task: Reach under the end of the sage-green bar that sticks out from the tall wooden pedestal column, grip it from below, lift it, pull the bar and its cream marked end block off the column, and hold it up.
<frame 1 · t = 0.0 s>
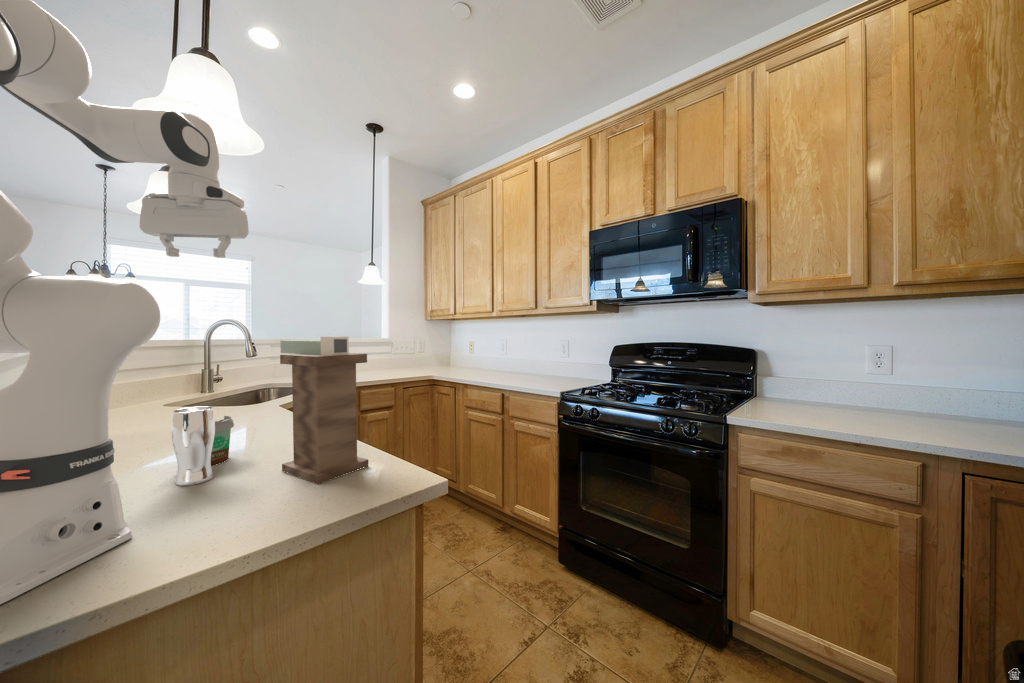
hand: (196, 256, 84), 48 cm above the worktop, tool pointing down, fingers open, 8 cm apart
food container: (213, 464, 89), on the worktop
wooden pedestal column: (326, 468, 85), on the worktop
sage bar: (311, 353, 87), point 26 cm above the worktop, touching wooden pedestal column
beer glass: (194, 481, 79), on the worktop
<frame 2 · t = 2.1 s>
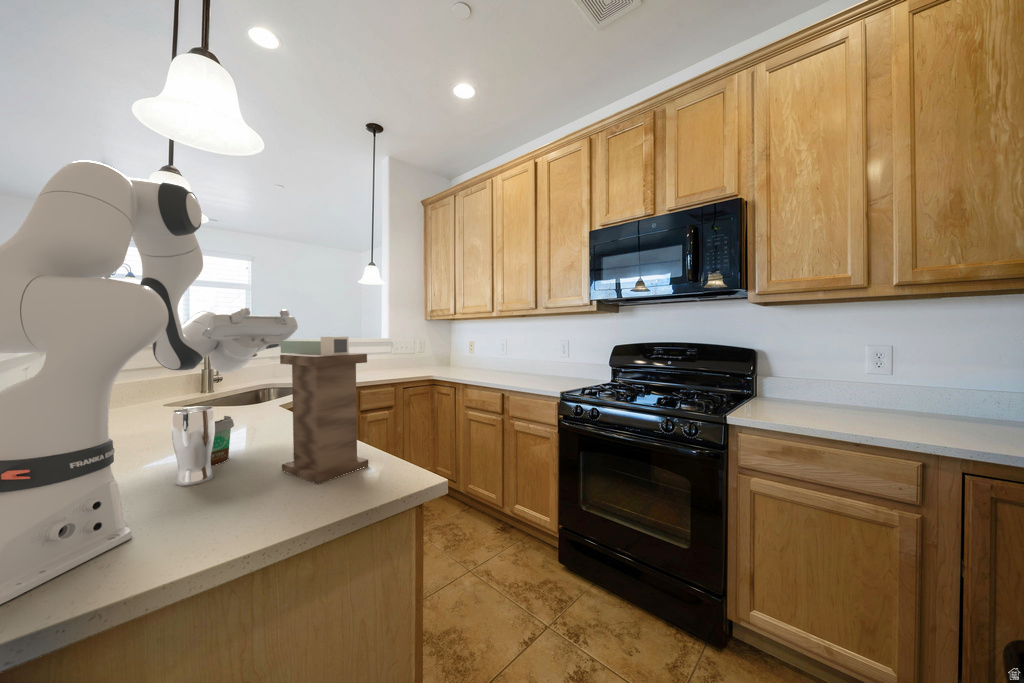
hand: (267, 311, 97), 37 cm above the worktop, tool pointing upward, fingers open, 8 cm apart
nothing on the worktop moved.
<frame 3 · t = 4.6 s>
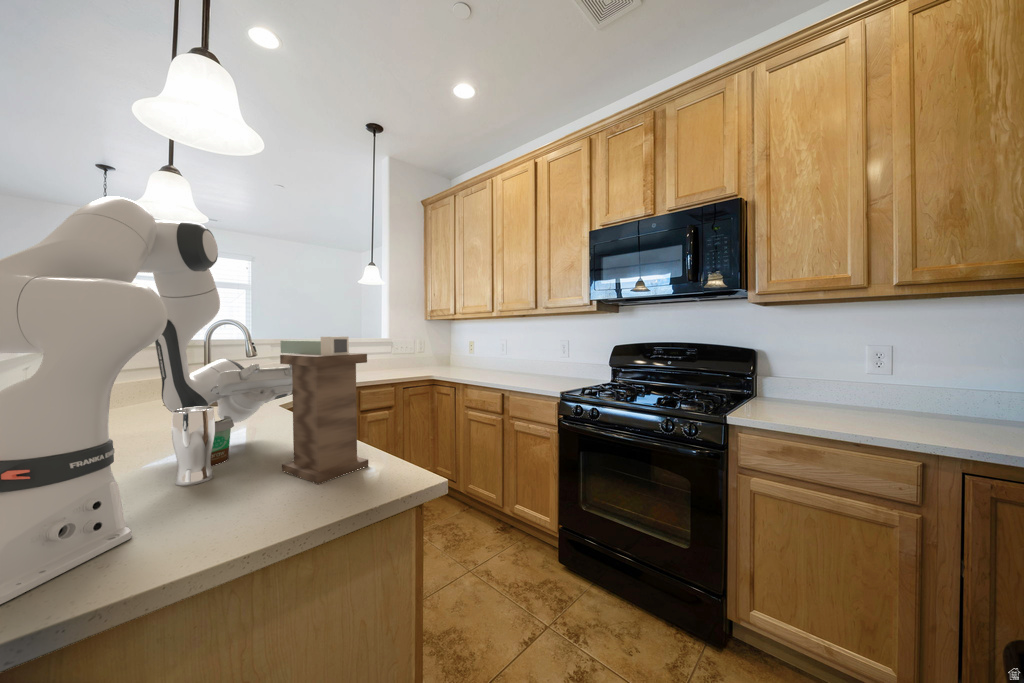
hand: (276, 365, 95), 23 cm above the worktop, tool pointing upward, fingers open, 8 cm apart
nothing on the worktop moved.
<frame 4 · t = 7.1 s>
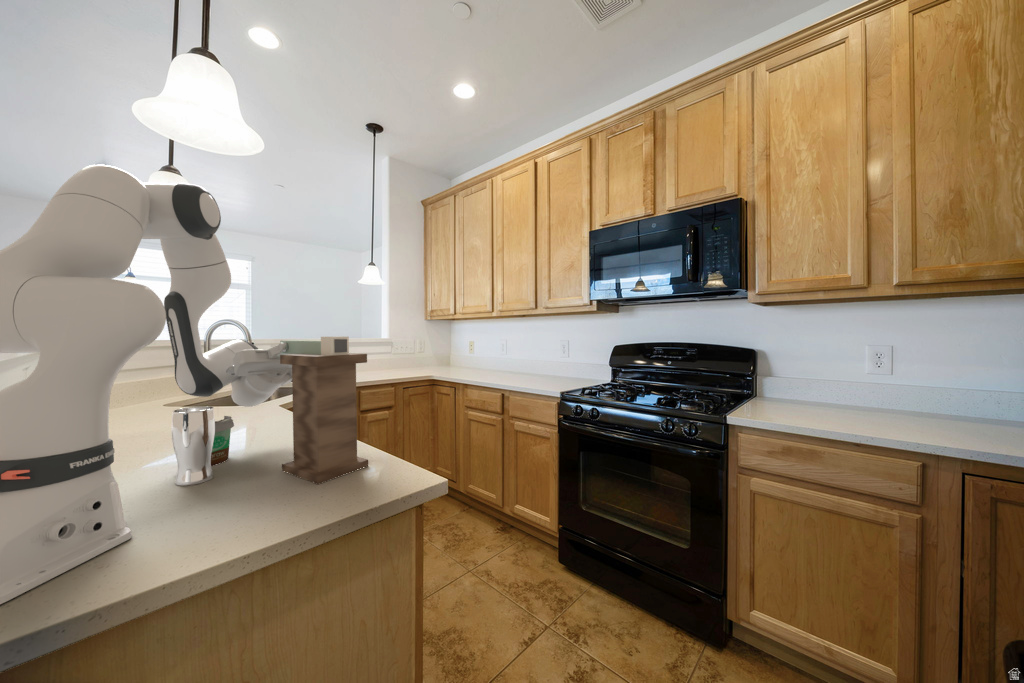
hand: (294, 344, 91), 28 cm above the worktop, tool pointing upward, fingers closed on sage bar, 3 cm apart
sage bar: (311, 353, 87), point 26 cm above the worktop, touching gripper, wooden pedestal column
everything else where it was.
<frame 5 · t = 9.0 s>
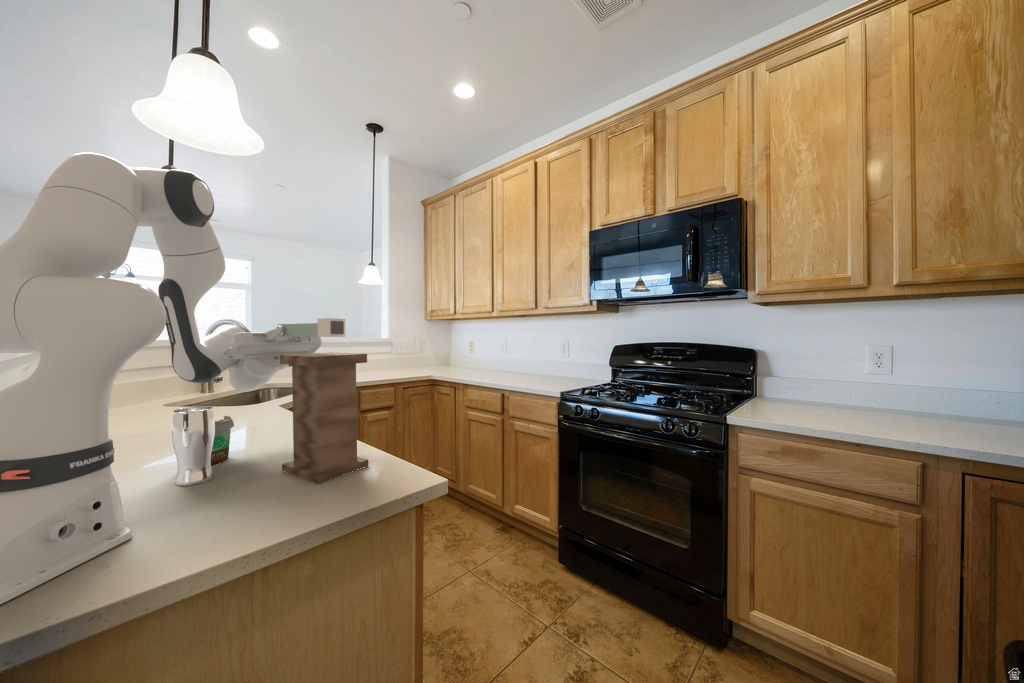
hand: (292, 328, 92), 32 cm above the worktop, tool pointing upward, fingers closed on sage bar, 3 cm apart
sage bar: (308, 336, 88), point 30 cm above the worktop, touching gripper
everything else where it was.
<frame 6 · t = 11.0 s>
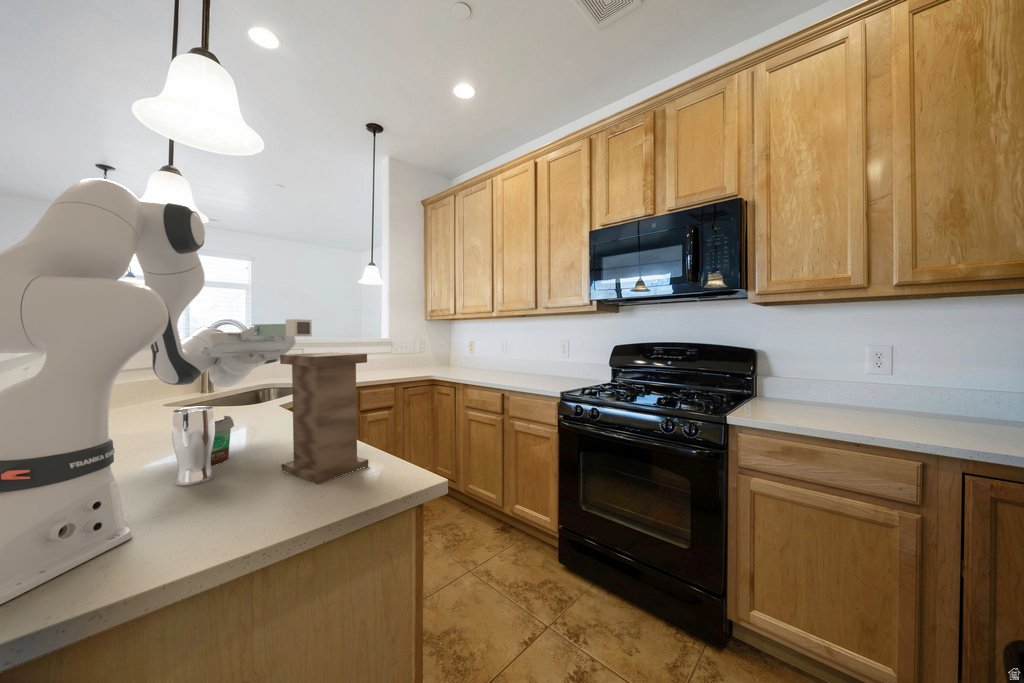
hand: (265, 328, 99), 32 cm above the worktop, tool pointing upward, fingers closed on sage bar, 3 cm apart
sage bar: (279, 336, 95), point 30 cm above the worktop, touching gripper
everything else where it was.
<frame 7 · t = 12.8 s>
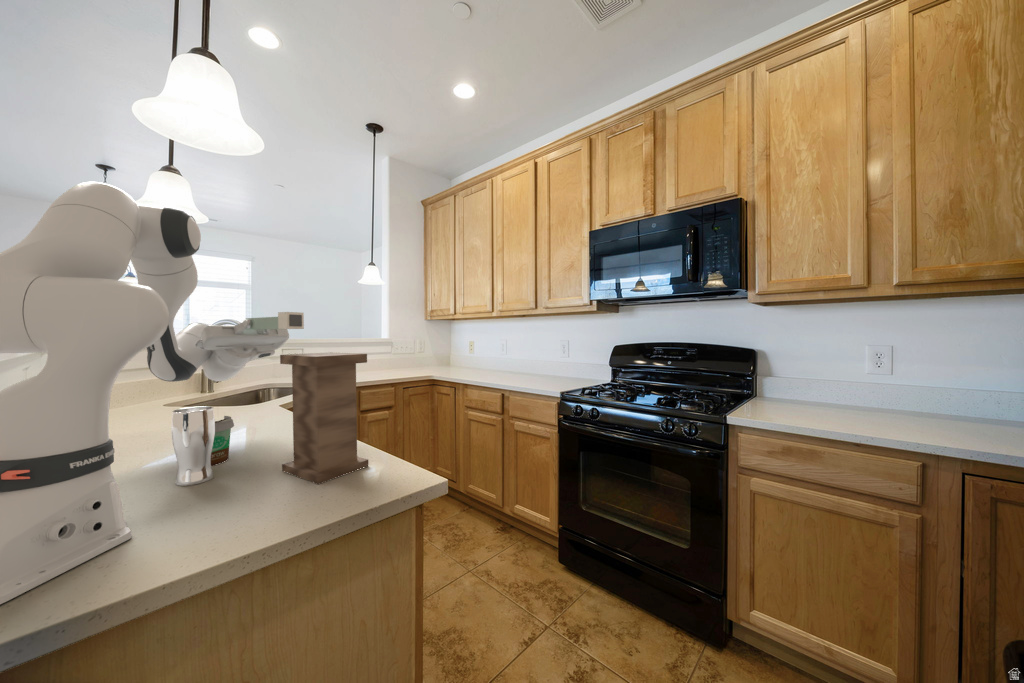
hand: (258, 322, 100), 34 cm above the worktop, tool pointing upward, fingers closed on sage bar, 3 cm apart
sage bar: (272, 329, 97), point 32 cm above the worktop, touching gripper
everything else where it was.
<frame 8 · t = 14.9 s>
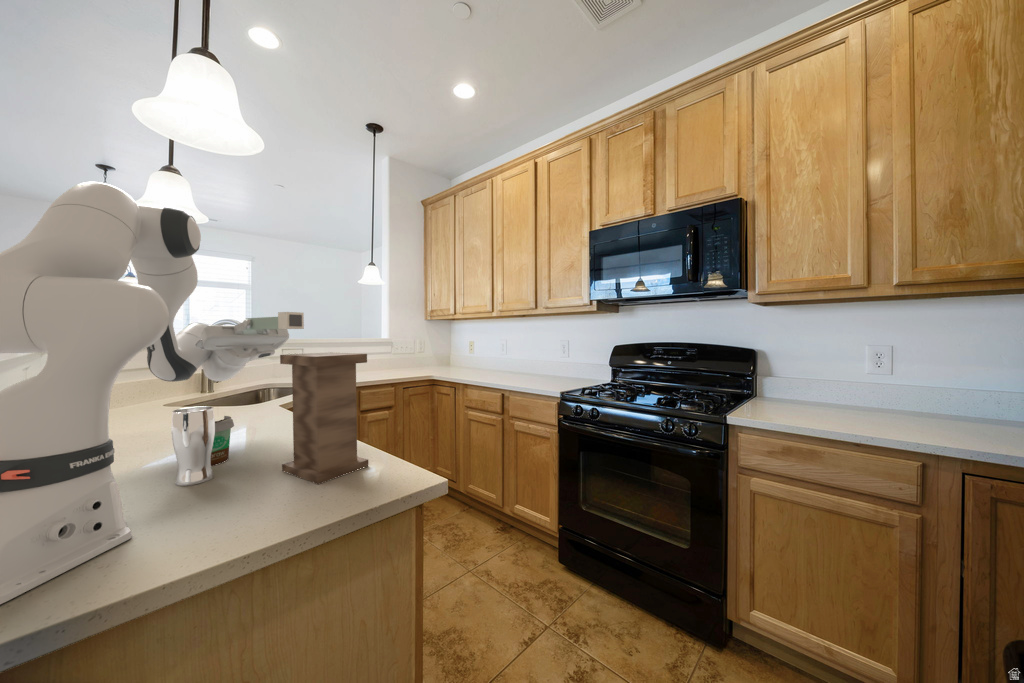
hand: (258, 322, 100), 34 cm above the worktop, tool pointing upward, fingers closed on sage bar, 3 cm apart
sage bar: (272, 329, 97), point 32 cm above the worktop, touching gripper
everything else where it was.
at the end: the gripper is holding sage bar; sage bar touching gripper; sage bar moved 18.9 cm from its start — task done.
